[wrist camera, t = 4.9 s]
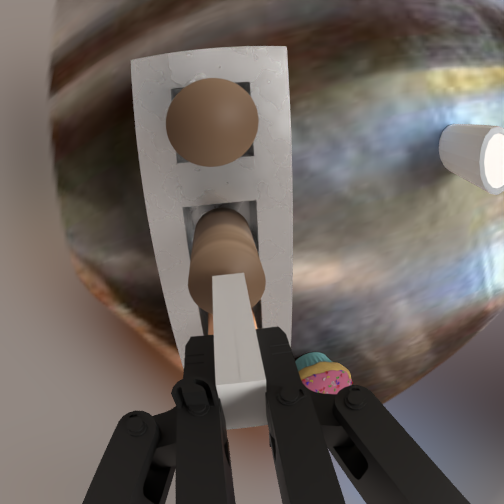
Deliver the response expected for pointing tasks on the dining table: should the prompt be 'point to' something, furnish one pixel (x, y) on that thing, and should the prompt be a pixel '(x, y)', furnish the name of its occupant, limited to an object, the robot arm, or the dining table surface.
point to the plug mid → (223, 256)
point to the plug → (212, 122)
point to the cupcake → (322, 373)
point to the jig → (218, 177)
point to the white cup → (475, 154)
